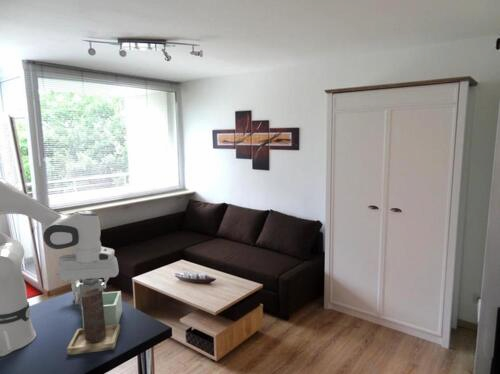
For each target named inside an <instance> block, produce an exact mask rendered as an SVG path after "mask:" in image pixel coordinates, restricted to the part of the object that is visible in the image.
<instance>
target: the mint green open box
mask: <svg viewBox="0 0 500 374" xmlns="http://www.w3.org/2000/svg"><path fill="white" fill-rule="evenodd" d="M102 296H103V307H104V318H105V326H108V325H117V324H120V320H121V316H122V314H123V303H122V291H121V290H118V291H108V292H107V291H106V292H103V293H102ZM81 319H82V328H84V318H83V307H82V309H81Z"/></svg>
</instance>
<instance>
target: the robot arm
mask: <svg viewBox="0 0 500 374" xmlns="http://www.w3.org/2000/svg"><path fill="white" fill-rule="evenodd" d="M13 214H15V215H22V216H25V217H28V218H31V219H32V220H35V221H36V222H37V223H40V224H42V225H44V226H46V229H45V230H44V232H43V235H42V236H43V237H42V238H43V241H44V243H45V245H46V246H47V247H49V248H51V249H52V250H62V249H67V248H71V247H74V254H62V255H61V256H60V257H58V260H57V262H58V265H59V271H58V274H59V275H58V278H59V279H60V280H61V281H65V280H68V281H69V283H70V284H71V286H72V285H73V286H74V291H75V292H76V290H79V289H80V287H79V286H80V285H79V284H77V283H76V282H75V280H77V279H79V280H82V279H92V278H99V279H103V281H104V282H103V283H102V284H101V289H103V290H104V289H106V288H107V282H108V281H109V279H110V278H115V277H117V276H118V275H119V271H120V270H119V263H118V259H117V257H116V256H115V251H116V250H115V249H113V248H110V247H106V246H102V242H101V231H102V230H101V223H100V218H99V216H98V214H97V213H96V212H94V211H92V210H85V209H84V210H83V209H82V210H77V211H75V212H74V213H73V214H67V213H63V212H62V213H61V212H59V211H57V210H55V209H53V208H51V207H49V206H48V205H46V204H44V203H43V202H41V201H39V200H37V199H35V198H33V197H31V196H30V195H28V194H26V193H25V192H23V191H22V190H20V189H18V188H17V187H15V186H14V185H13V184H11V183H10V182H8V181H7V180H5V179H4V178H2V177H0V215H13ZM24 257H25V249H24V246H23V244H22V243H21V242H20V241H19V240H17V239H13V238H12V237H10V236H9V235H7V234H5V233H3V232H2V231H0V357H4V356H6V355H8V354H10V353H12V352H14V351H16V350H18V349H21V348H24V347H26V346H27V345H29V344H30V343H32V342H34V340H35V339H36V337H37V333H36V331H35V328H34V327H33V324H32V323H33V322H32V320H31V308H30V302H29V301H28V294H27V293H28V292H27V286H26V282H25V279H24V275H23V271H22V262H23V259H24Z"/></svg>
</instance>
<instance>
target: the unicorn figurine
mask: <svg viewBox="0 0 500 374" xmlns="http://www.w3.org/2000/svg"><path fill="white" fill-rule="evenodd" d="M56 275H57V276H59V273H56ZM63 281H64V282H63V283H64V284H68V283H69V280H63ZM80 281H81V279H77V280H75V282H76V283H77V284H81V283H82V282H80ZM79 287H80V286H79ZM71 289H72V294H73V297H72V301H73V302H75V303H74V305H75V306H78V305H79V304H80V305H81V298H80V289H79V290H76V291H74V286H73V285H72V284H71Z"/></svg>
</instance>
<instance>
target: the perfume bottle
mask: <svg viewBox="0 0 500 374" xmlns="http://www.w3.org/2000/svg"><path fill="white" fill-rule="evenodd" d="M103 281H104V279H101V278H92V279H81V282H80V283H81V284H79V285H80V298H81V304H80V307H81V310H82V294H83V293H84V292H85V291H86V290H88V289H95V288H101V284H102V283H104V282H103ZM102 293H104V289H102ZM80 298H79V299H80Z"/></svg>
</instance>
